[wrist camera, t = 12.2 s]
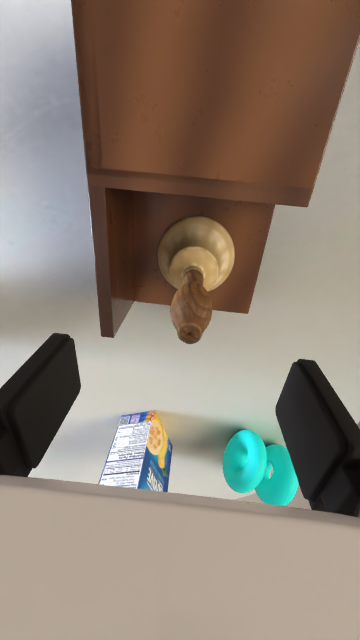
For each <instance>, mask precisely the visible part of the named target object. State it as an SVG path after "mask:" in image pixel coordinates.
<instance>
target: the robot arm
mask: <svg viewBox="0 0 360 640" xmlns="http://www.w3.org/2000/svg"><path fill="white" fill-rule="evenodd" d="M80 388H81V383H80V377H79V370H78V364H77V357H76V351H75V344H74V340H73V338H70V336H69V335H68V334H60V333H53V334H52V335H51V336H50V337H49V338H48V339H47V340H46V341H45V342H44V343H43V344H42V346H41V347H40V348H39V349H38V350H37V351H36V352H35V353H34V354H33V355H32V356H31V357H30V358H29V359H28V360H27V361H26V362H25V363H24V364H23V365H22V366H21V367H20V368H19V370H18V371H17V372H16V373H15V374H14V375H13V376H12V377H11V378H10V379H9V380H8V381H7V382H6V383H5V384H4V385H3V386H2V387H1V388H0V640H360V429H359V428H358V426H357V424H356V423H355V421H354V420H353V418H352V417H351V415H350V414H349V412H348V411H347V409H346V408H345V406H344V405H343V403H342V401H341V400H340V398H339V397H338V395H337V394H336V392H335V391H334V389H333V388H332V386H331V385H330V383H329V382H328V380H327V378H326V377H325V375H324V374H323V372H322V371H321V369H320V368H319V366H318V365H317V363H316V362H315V361H313V360H305V359H299V360H298V361H297V362H294V363H293V364H292V366H291V369H290V372H289V374H288V377H287V379H286V382H285V384H284V387H283V390H282V392H281V395H280V397H279V400H278V402H277V405H276V416H277V419H278V422H279V425H280V428H281V431H282V434H283V437H284V440H285V443H286V446H287V449H288V452H289V455H290V458H291V461H292V464H293V467H294V470H295V473H296V476H297V479H298V482H299V485H300V488H301V491H302V494H303V496H304V498H305V499H308V500H309V503H310V506H311V509H312V510H308V509H301V508H293V507H286V506H278V505H270V504H261V503H254V502H245V501H237V500H229V499H221V498H212V497H204V496H195V495H186V494H178V493H169V492H160V491H152V490H143V489H134V488H125V487H116V486H107V485H98V484H89V483H80V482H71V481H62V480H52V479H41V478H30V477H28V475H29V473H30V471H31V470H32V468H36V467H37V466H38V465H39V463H40V461H41V460H42V458H43V456H44V454H45V453H46V451H47V449H48V447H49V445H50V444H51V442H52V440H53V438H54V437H55V435H56V433H57V431H58V430H59V428H60V426H61V424H62V422H63V421H64V419H65V417H66V415H67V414H68V412H69V410H70V408H71V406H72V405H73V403H74V401H75V399H76V398H77V396H78V394H79V392H80Z"/></svg>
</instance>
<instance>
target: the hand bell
mask: <svg viewBox="0 0 360 640" xmlns="http://www.w3.org/2000/svg"><path fill="white" fill-rule="evenodd" d="M157 259H158V265H159V268H160V270H161V272H162V274H163V276H164V277H165V279H166V280H167V281H168V282H169V283H170V284H171V285H172V286H174V287H175V288H177V289H178V290H177V291H176V293H175V295H174V297H173V300H172V303H171V310H170V312H171V319H172V322H173V325H174V327H175V328H176V330H177V334H178V337H179V339H180V340H181V341H183V342H185V343H187V344H193V343H196V342H198V341H199V340H200V339H201V337H202V334H203V332H204V330H205V329H206V328H207V326H208V324H209V322H210V320H211V316H212V304H211V299H210V296H209V294H208V291H211V290H213V289H215V288H216V287H218V286H219V285H221V284H222V283H223V282H224V281H225V280H226V278H227V277H228V276H229V274H230V272H231V270H232V268H233V264H234V259H235V249H234V245H233V241H232V239H231V237H230V235H229V233H228V232H227V230H226V229H225V228H224V227H223V226H222V225H221V224H219V223H218V222H216V221H215V220H212V219H210V218H207V217H202V216H190V217H186V218H183V219H180V220H178V221H176V222H175V223H173V224H172V225H171V226H170V227H169V228H168V229H167V230H166V231H165V233H164V234H163V236H162V238H161V240H160V242H159V245H158V252H157Z"/></svg>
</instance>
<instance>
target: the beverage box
mask: <svg viewBox="0 0 360 640" xmlns="http://www.w3.org/2000/svg"><path fill="white" fill-rule="evenodd" d="M171 455H172V444H171V442H170V440H169V438H168V436H167V434H166V432H165V430H164V428H163V426H162V424H161V422H160V420H159V418H158V416H157V414H156V412H155V410H154V411H148V412H142V413H135V414H129V415H123V416H121V419H120V422H119V425H118V428H117V431H116V434H115V437H114V440H113V443H112V446H111V448H110V451H109V454H108V457H107V460H106V463H105V466H104V469H103V472H102V475H101V478H100V480H99V483H98V485H107V486H116V487H125V488H134V489H143V490H152V491H160V492H167V491H168V482H169V473H170V464H171Z"/></svg>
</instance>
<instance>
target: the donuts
mask: <svg viewBox="0 0 360 640" xmlns="http://www.w3.org/2000/svg"><path fill="white" fill-rule="evenodd" d="M246 460H247V461H246ZM272 466H273V473H272V476H271V478H270V479H269V475H270V470H271V468H272ZM223 473H224V477H225V480H226V482H227V483H228V485H229V486H230V487H231V488H232V489H233V490H234V491H236V492H239V493H246V492H250V491H252V490H253V489H255V491H256V493H257V495H258V496H259V498H260V499H261V500H262V501H263V502H264V503H265V504H270V505H278V506H285V505H287V504H288V503H289V502H290V501H291V500H292V499H293V497H294V496H295V494H296V492H297V488H298V484H299V482H298V479H297V476H296V473H295V470H294V467H293V464H292V461H291V458H290V455H289V452H288V449H287V448H285V447H283V446H281V445H277V444H274V445H269V446H267V447H265V445H264V442H263V440H262V439H261V438H260V436H259V435H258V434H257V433H255V432H253V431H251V430H242V431H239V432H238V433H236V434H235V435H234V436H233V437H232V438H231V439H230V441H229V443H228V444H227V447H226V449H225V453H224V457H223Z"/></svg>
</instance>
